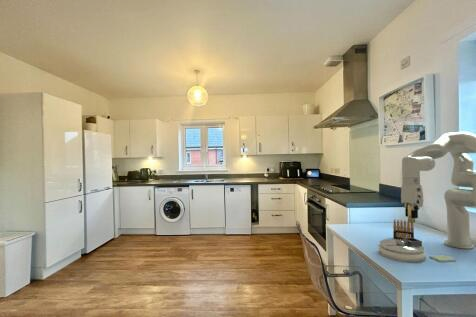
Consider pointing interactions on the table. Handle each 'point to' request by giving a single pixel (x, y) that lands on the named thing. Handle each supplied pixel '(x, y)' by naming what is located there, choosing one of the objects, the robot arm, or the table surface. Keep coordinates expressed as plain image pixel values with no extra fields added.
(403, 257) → the chuck housing
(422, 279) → the table surface
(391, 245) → the grey round shallow disc
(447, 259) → the mat
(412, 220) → the brass rounded cylinder
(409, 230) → the ammunition clip
